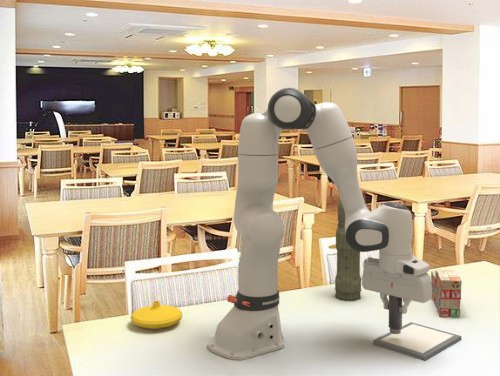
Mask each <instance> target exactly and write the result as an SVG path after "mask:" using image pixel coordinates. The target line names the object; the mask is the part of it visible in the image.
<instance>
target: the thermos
mask: <svg viewBox="0 0 500 376" xmlns="http://www.w3.org/2000/svg"><path fill="white" fill-rule="evenodd" d="M344 218H345V212H344V208H343V205H342V202H341V199H339V201H338V204H337V222H338V223H337V227H336V231H335V248H336V249H335V250H336V275H335V279H334V280H335V281H334V286H335V287H334V290H335V299H337V300H339V301H344V302H356V301H359V300H361V292H362V276H361V275H360V274H361V270H360V269H361V252H359V251H356V250H354V249H352V248H351V247H350V246H349V244H348V243H347V241H346V236H345V231H344Z"/></svg>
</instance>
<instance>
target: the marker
mask: <svg viewBox="0 0 500 376" xmlns="http://www.w3.org/2000/svg"><path fill="white" fill-rule="evenodd" d="M392 287H393V283H391V288H392ZM388 300H389V310H388V328H389V332H390V333H392V334H400V333H401V328H402V326H403V314H402V313H399V307H400V306H403V298H399V297H395V296H392V295H388Z"/></svg>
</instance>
